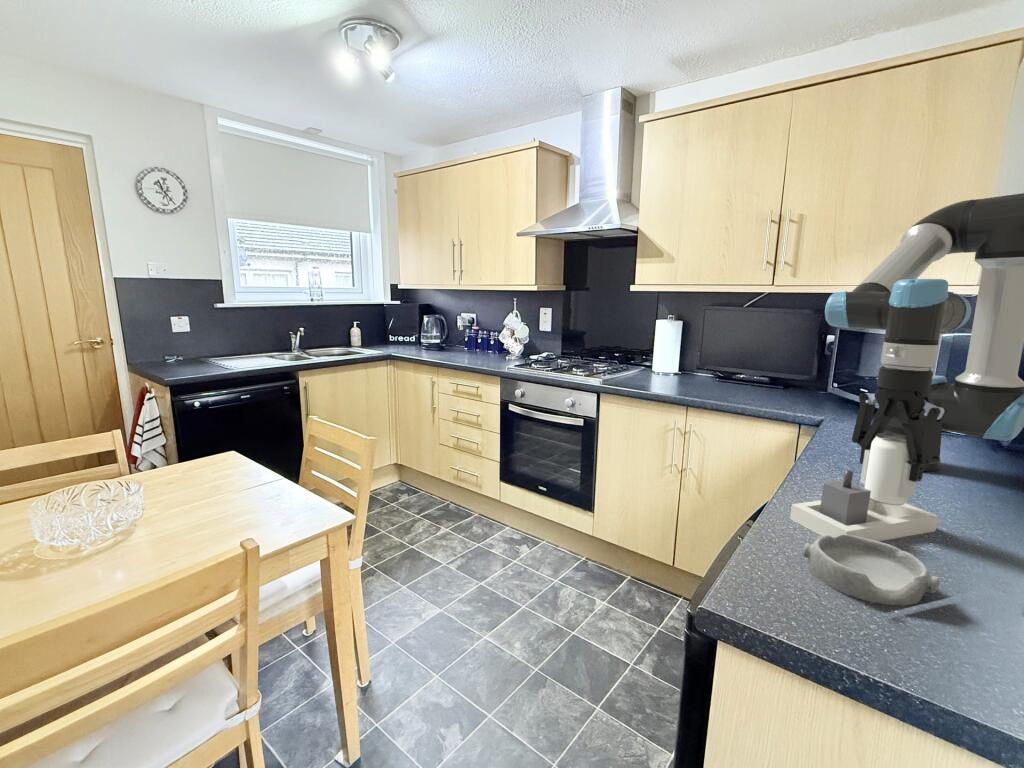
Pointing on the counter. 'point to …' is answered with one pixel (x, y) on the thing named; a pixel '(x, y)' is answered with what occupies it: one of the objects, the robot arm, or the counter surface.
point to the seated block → (845, 501)
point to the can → (886, 468)
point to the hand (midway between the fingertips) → (885, 488)
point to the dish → (869, 570)
